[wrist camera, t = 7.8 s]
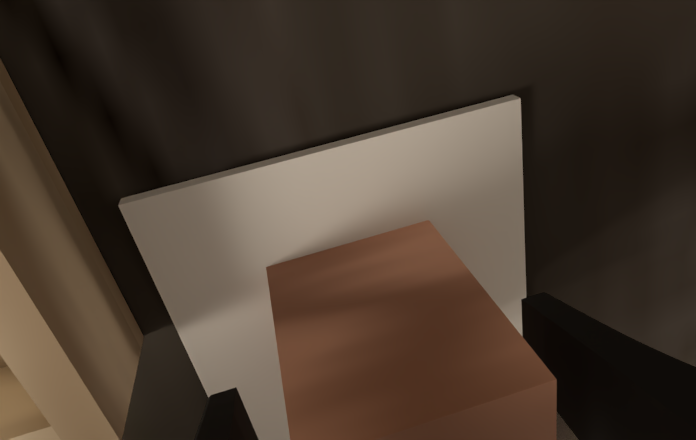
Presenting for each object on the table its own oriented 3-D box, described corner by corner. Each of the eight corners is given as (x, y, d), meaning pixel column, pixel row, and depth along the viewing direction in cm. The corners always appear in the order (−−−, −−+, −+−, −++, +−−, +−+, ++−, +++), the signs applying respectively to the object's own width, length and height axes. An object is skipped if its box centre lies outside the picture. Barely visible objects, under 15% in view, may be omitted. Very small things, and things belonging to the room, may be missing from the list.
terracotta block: (306, 387, 15) (349, 606, 10) (266, 266, 13) (293, 466, 8) (445, 343, 16) (555, 531, 11) (428, 220, 14) (556, 379, 8)
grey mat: (243, 463, 17) (244, 473, 16) (121, 197, 12) (118, 205, 12) (522, 372, 18) (528, 380, 17) (512, 94, 13) (520, 97, 13)
